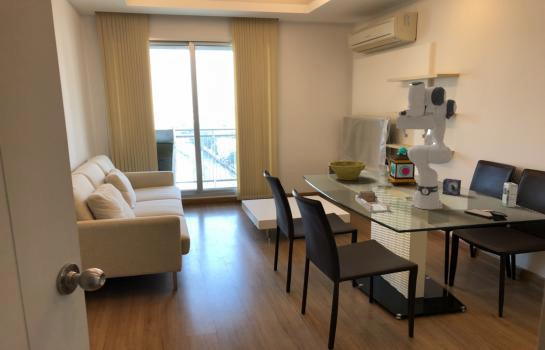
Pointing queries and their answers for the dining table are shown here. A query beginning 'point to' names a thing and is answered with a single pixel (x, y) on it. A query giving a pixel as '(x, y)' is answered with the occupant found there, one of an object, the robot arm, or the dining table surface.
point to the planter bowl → (347, 169)
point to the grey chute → (373, 204)
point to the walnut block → (368, 196)
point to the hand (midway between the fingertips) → (414, 137)
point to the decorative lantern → (401, 168)
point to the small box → (451, 187)
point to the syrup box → (509, 194)
